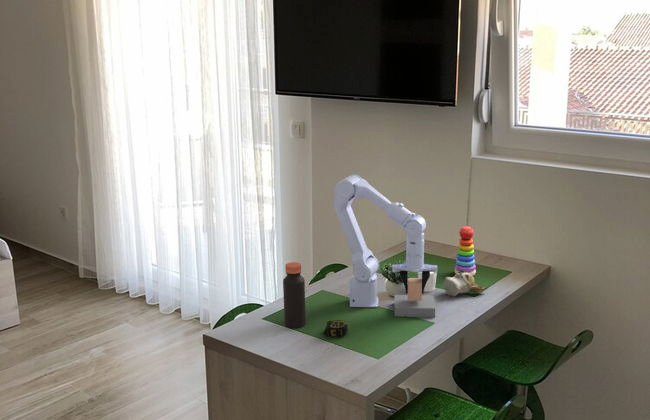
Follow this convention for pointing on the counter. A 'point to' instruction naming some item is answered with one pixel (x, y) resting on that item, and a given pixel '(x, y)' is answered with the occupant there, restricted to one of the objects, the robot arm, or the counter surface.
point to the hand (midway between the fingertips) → (414, 292)
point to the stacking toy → (466, 252)
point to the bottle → (294, 296)
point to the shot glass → (429, 281)
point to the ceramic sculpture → (461, 284)
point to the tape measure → (335, 328)
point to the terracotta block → (414, 289)
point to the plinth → (414, 306)
